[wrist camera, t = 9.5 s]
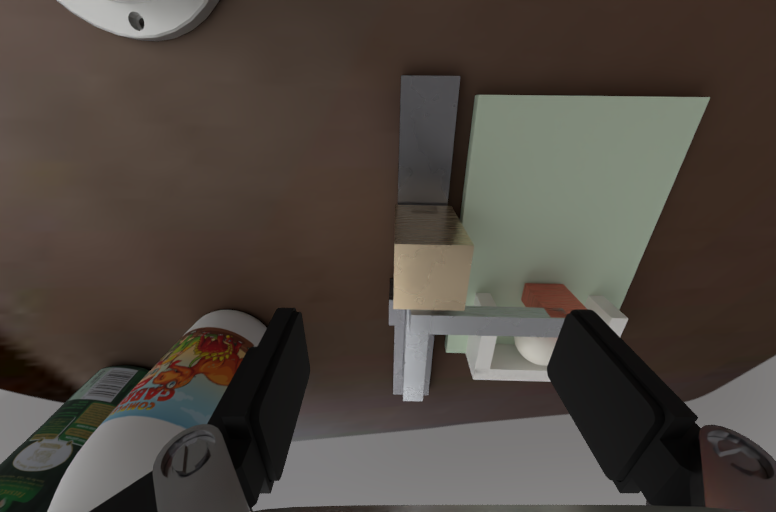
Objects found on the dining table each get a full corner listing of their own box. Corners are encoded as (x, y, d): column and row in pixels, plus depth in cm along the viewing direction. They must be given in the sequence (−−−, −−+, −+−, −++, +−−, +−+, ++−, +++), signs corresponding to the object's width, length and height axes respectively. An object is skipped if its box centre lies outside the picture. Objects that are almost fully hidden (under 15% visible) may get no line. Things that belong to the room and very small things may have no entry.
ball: (531, 359, 21) (511, 368, 25) (587, 361, 21) (560, 370, 25) (520, 306, 23) (503, 321, 27) (572, 307, 23) (548, 323, 27)
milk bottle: (293, 340, 29) (121, 724, 11) (248, 379, 31) (48, 743, 13) (224, 291, 26) (-141, 674, 8) (181, 337, 29) (-170, 709, 11)
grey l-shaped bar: (395, 204, 21) (394, 244, 15) (585, 208, 21) (666, 249, 15) (391, 383, 29) (389, 458, 23) (530, 387, 29) (567, 464, 23)
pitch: (474, 95, 19) (478, 94, 18) (695, 97, 19) (710, 97, 18) (444, 344, 28) (446, 352, 28) (592, 348, 28) (599, 356, 27)
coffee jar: (186, 426, 35) (-6, 715, 18) (116, 417, 34) (-146, 704, 18) (174, 366, 31) (-90, 671, 14) (95, 355, 30) (-276, 656, 14)
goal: (475, 292, 25) (485, 315, 22) (602, 295, 24) (628, 318, 22) (465, 353, 28) (473, 379, 25) (579, 356, 27) (599, 382, 25)
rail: (393, 76, 19) (392, 70, 16) (466, 77, 19) (478, 71, 16) (388, 387, 31) (387, 415, 28) (432, 388, 31) (436, 417, 28)
